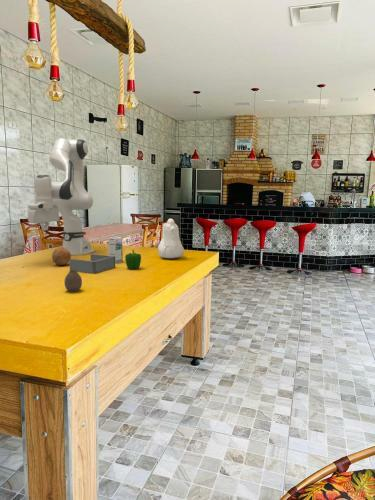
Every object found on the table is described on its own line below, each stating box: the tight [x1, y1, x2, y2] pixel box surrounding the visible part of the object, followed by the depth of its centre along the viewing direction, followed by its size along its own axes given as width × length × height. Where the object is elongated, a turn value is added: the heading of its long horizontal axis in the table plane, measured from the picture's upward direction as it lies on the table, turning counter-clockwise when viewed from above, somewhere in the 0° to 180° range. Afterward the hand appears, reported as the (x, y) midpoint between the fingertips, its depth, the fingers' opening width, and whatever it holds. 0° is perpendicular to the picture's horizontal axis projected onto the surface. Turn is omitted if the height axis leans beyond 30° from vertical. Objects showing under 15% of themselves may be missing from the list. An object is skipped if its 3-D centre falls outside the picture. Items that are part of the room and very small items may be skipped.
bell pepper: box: [124, 249, 142, 270], centre depth 205 cm, size 8×8×10 cm
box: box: [69, 253, 116, 275], centre depth 202 cm, size 18×15×6 cm
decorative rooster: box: [157, 218, 185, 259], centre depth 241 cm, size 25×16×25 cm, turn 5°
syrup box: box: [107, 236, 124, 264], centre depth 222 cm, size 6×6×14 cm
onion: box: [51, 246, 72, 266], centre depth 210 cm, size 10×10×10 cm
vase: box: [64, 269, 83, 293], centre depth 158 cm, size 7×7×9 cm
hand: (44, 230), depth 212 cm, fingers closed
